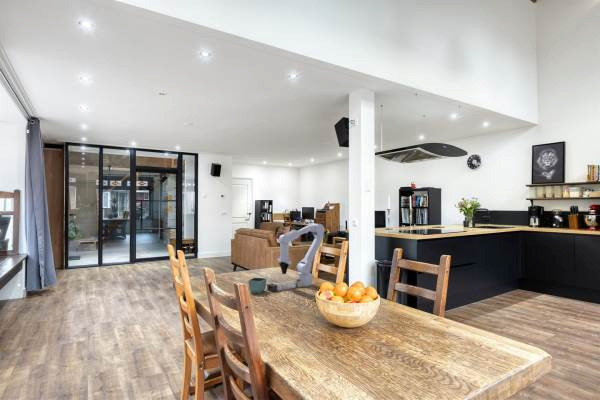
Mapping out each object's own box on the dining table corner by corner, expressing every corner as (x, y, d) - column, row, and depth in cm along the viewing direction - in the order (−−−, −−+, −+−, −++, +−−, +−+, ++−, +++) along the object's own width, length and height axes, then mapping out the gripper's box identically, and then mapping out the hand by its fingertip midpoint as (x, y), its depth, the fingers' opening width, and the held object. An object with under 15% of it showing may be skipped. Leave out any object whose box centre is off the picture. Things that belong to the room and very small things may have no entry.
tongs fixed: (298, 285, 226) (298, 278, 226) (302, 286, 222) (302, 279, 222) (267, 290, 212) (267, 282, 212) (270, 291, 208) (270, 284, 208)
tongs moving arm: (293, 287, 220) (293, 281, 220) (295, 287, 218) (295, 282, 218) (269, 291, 209) (269, 285, 209) (271, 291, 207) (271, 286, 208)
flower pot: (247, 295, 205) (247, 280, 205) (253, 291, 213) (254, 277, 214) (261, 296, 203) (261, 281, 203) (266, 292, 211) (266, 278, 211)
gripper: (273, 252, 224) (273, 272, 224) (284, 254, 212) (284, 276, 212) (282, 251, 228) (282, 271, 228) (294, 254, 216) (294, 275, 216)
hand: (284, 273), depth 220 cm, fingers closed
